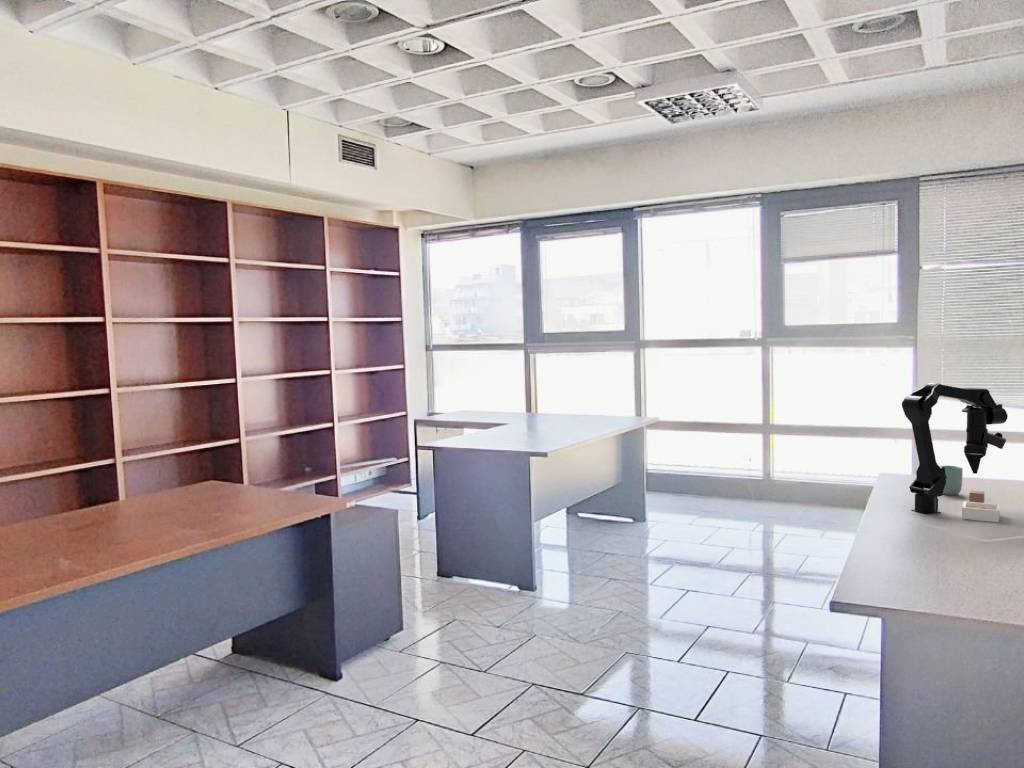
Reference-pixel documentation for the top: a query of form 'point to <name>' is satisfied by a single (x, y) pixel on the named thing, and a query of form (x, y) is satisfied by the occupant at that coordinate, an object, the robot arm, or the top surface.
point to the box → (981, 511)
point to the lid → (976, 496)
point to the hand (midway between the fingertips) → (975, 471)
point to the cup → (953, 480)
